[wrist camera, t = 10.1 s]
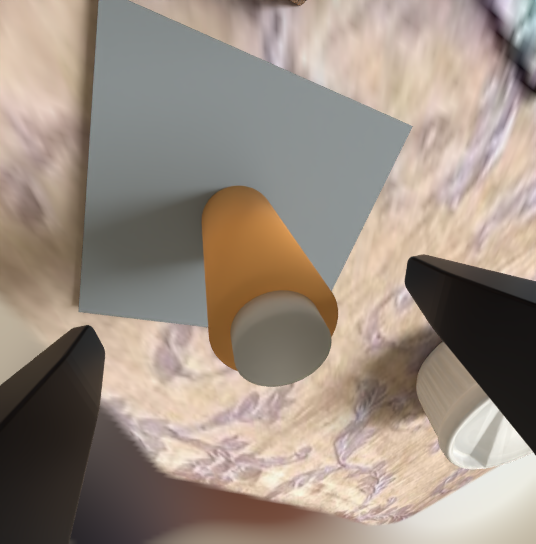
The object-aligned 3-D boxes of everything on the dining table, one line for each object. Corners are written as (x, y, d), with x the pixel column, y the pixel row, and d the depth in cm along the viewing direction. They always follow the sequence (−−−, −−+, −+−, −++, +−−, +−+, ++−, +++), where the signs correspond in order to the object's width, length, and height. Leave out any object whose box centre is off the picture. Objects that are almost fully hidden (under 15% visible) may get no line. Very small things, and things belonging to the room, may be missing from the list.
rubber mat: (404, 125, 13) (412, 126, 13) (304, 332, 18) (307, 338, 18) (104, -8, 9) (99, -13, 9) (82, 304, 14) (78, 312, 14)
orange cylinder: (283, 196, 13) (377, 304, 7) (261, 260, 15) (319, 402, 8) (211, 176, 12) (233, 278, 5) (194, 246, 14) (195, 397, 7)
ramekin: (376, 375, 22) (421, 445, 18) (509, 276, 20) (599, 328, 16) (435, 422, 28) (481, 484, 24) (546, 349, 26) (620, 403, 21)
